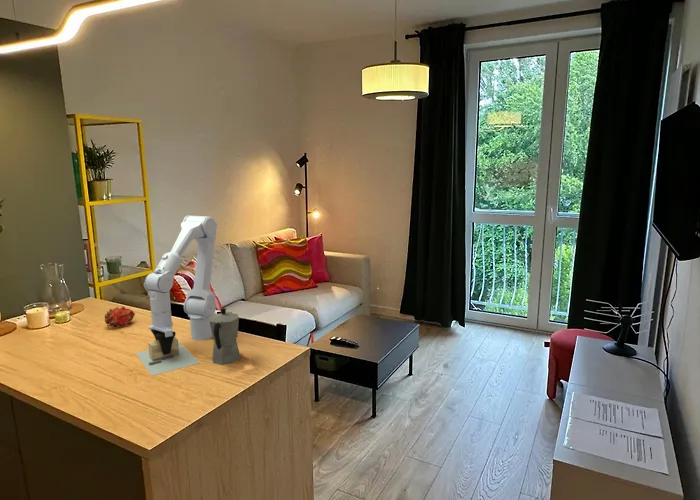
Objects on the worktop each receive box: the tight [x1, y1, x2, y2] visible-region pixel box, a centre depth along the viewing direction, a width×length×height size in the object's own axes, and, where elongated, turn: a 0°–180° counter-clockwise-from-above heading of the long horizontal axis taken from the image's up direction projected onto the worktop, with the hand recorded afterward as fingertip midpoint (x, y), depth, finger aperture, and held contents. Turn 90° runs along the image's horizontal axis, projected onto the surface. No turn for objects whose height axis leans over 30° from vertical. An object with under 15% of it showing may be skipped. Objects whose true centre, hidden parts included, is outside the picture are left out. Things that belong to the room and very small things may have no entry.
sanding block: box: [147, 336, 179, 361], centre depth 144 cm, size 8×4×5 cm, turn 127°
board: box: [135, 342, 200, 377], centre depth 143 cm, size 14×20×2 cm
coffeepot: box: [209, 307, 241, 366], centre depth 139 cm, size 15×9×18 cm, turn 0°
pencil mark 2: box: [161, 355, 174, 360], centre depth 142 cm, size 4×1×1 cm, turn 127°
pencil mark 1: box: [149, 360, 162, 365], centre depth 139 cm, size 4×1×1 cm, turn 127°
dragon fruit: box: [104, 306, 136, 329], centre depth 175 cm, size 8×8×12 cm
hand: (164, 351), depth 144 cm, fingers closed on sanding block, 4 cm apart
